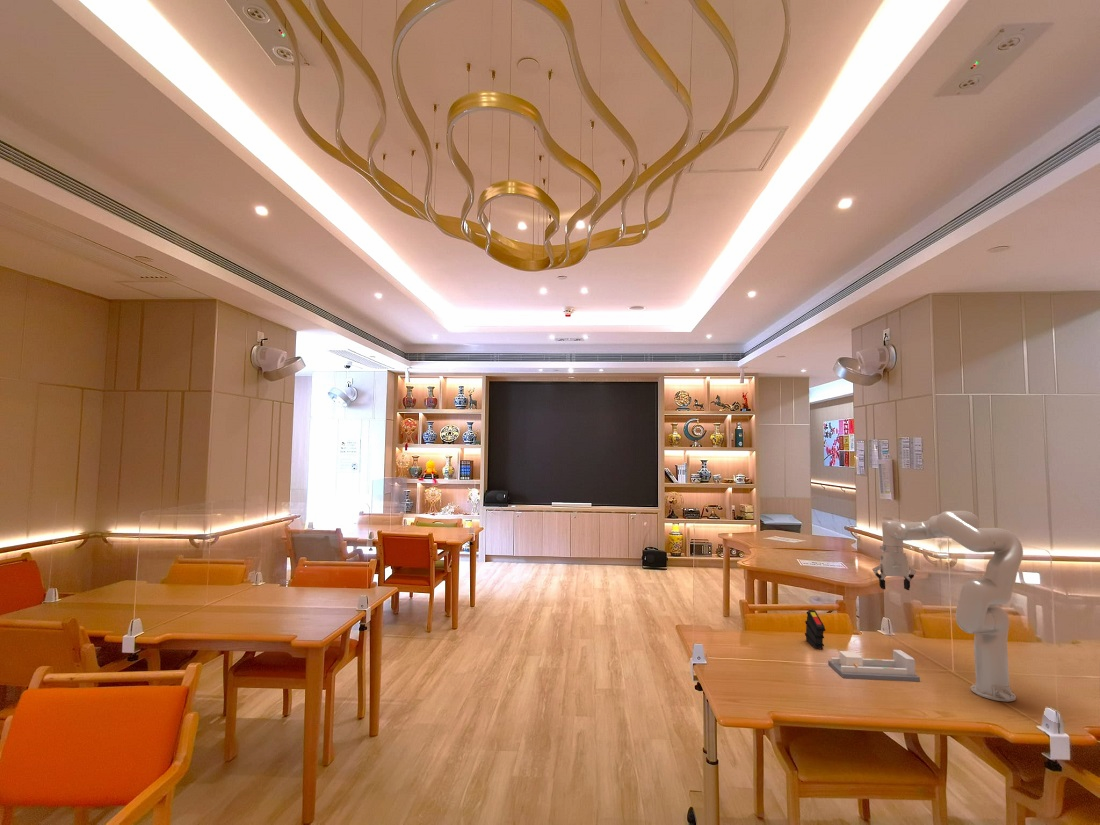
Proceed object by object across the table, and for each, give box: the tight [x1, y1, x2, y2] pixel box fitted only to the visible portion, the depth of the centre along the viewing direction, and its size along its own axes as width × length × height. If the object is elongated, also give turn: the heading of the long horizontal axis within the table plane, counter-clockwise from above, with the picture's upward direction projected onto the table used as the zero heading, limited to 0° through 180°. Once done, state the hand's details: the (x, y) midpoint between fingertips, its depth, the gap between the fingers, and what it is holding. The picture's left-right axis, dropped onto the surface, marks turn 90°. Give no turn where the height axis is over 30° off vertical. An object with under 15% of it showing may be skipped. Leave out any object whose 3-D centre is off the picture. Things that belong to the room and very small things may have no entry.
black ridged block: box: [804, 609, 826, 650], centre depth 247 cm, size 4×13×15 cm, turn 177°
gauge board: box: [827, 649, 921, 682], centre depth 216 cm, size 14×28×8 cm, turn 84°
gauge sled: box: [838, 650, 864, 667], centre depth 217 cm, size 11×6×5 cm, turn 174°
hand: (894, 589), depth 237 cm, fingers open, 9 cm apart
